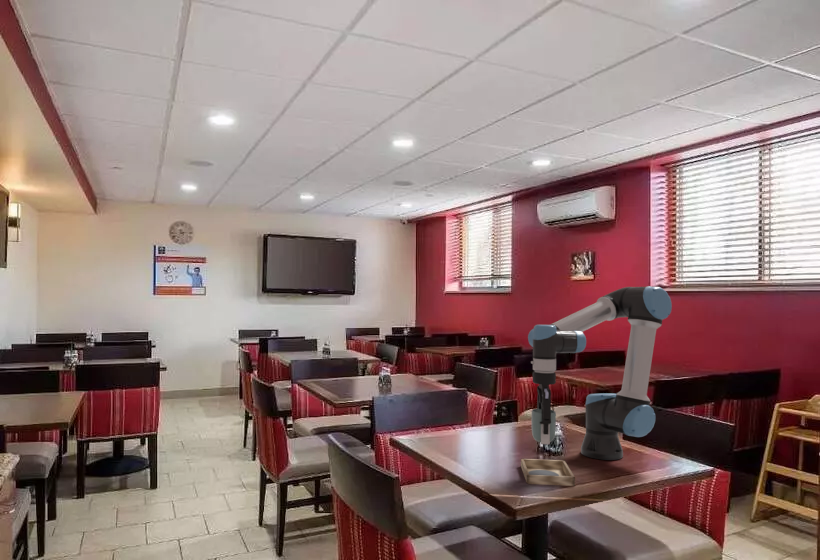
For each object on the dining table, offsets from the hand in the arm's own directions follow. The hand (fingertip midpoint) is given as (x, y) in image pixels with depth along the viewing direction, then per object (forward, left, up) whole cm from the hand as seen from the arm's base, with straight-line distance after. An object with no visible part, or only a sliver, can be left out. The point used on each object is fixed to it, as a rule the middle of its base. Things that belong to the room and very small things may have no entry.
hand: (543, 440), depth 190 cm
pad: (0, 0, -11) cm, 11 cm away
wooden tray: (-1, 0, -12) cm, 12 cm away
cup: (0, 0, 0) cm, 0 cm away
